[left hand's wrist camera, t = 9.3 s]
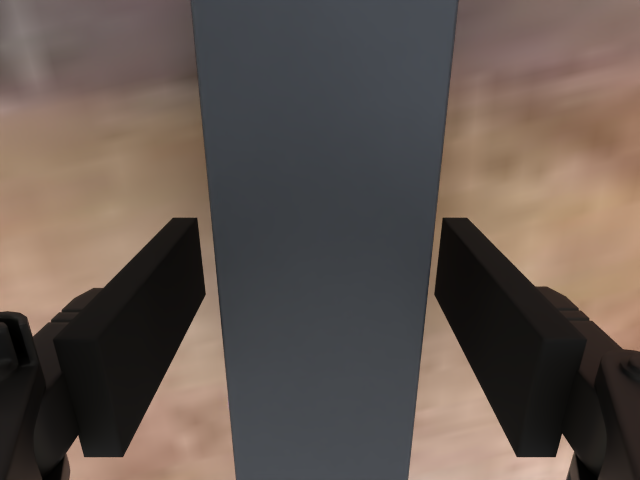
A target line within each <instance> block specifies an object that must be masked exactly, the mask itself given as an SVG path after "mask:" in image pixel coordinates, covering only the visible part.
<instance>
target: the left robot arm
mask: <svg viewBox="0 0 640 480" xmlns="http://www.w3.org/2000/svg"><path fill="white" fill-rule="evenodd" d="M205 295H206V293H205V284H204V275H203V266H202V257H201V248H200V239H199V230H198V221H197V218H172V219H171V220H170V221H169V222H168V223H167V224H166V225H165V226H164V227H163V228H162V229H161V231H160V232H159V233H158V234H157V235H156V236H155V237H154V238H153V239H152V240H151V241H150V242H149V243H148V244H147V245H146V246H145V247H144V248H143V249H142V250H141V251H140V252H139V253H138V254H137V255H136V256H135V257H134V258H133V259H132V260H131V261H130V262H129V263H128V264H127V265H126V266H125V267H124V268H123V269H122V270H121V271H120V272H119V273H118V274H117V275H116V276H115V277H114V278H113V279H112V280H111V281H110V282H109V283H108V284H107V285H106V286H105V287H104V288H93V289H91V290H89V291H87V292H85V293H83V294H81V295H79V296H78V297H76V298H74V299H73V300H72V301H71V302H70V303H69V304H68V305H67V306H66V307H64V308H63V309H62V312H59V313H58V314H57V315H56V316H55V317H54V318H53V319H52V320H51V322H48V323H47V324H46V325H45V326H44V327H43V328H42V329H41V330H40V331H39V332H38V333H37V334H35V335H34V336H32V333H31V330H30V326H29V323H28V319H27V317H26V316H24V315H23V314H21V313H17V312H9V311H7V312H0V480H69V477H70V466H69V461H68V458H67V454H66V452H67V451H68V449H69V448H70V446H71V445H72V443H73V442H74V440H75V439H76V437H77V436H78V435H79V439H80V443H81V447H82V450H83V454H84V457H123V456H124V454H125V452H126V450H127V448H128V446H129V444H130V442H131V440H132V438H133V436H134V434H135V433H136V431H137V429H138V427H139V425H140V423H141V421H142V419H143V417H144V415H145V413H146V411H147V409H148V407H149V405H150V403H151V401H152V399H153V397H154V395H155V393H156V391H157V389H158V387H159V385H160V383H161V381H162V379H163V377H164V375H165V373H166V372H167V370H168V368H169V366H170V364H171V362H172V360H173V358H174V356H175V354H176V352H177V350H178V348H179V346H180V344H181V342H182V340H183V338H184V336H185V334H186V332H187V330H188V328H189V326H190V324H191V322H192V320H193V318H194V316H195V314H196V312H197V311H198V309H199V307H200V305H201V303H202V301H203V299H204V297H205ZM434 295H435V297H436V299H437V301H438V303H439V305H440V307H441V309H442V311H443V312H444V314H445V316H446V318H447V320H448V322H449V324H450V326H451V328H452V330H453V332H454V334H455V336H456V338H457V340H458V342H459V344H460V346H461V348H462V350H463V352H464V354H465V356H466V358H467V360H468V362H469V364H470V366H471V368H472V370H473V372H474V373H475V375H476V377H477V379H478V381H479V383H480V385H481V387H482V389H483V391H484V393H485V395H486V397H487V399H488V401H489V403H490V405H491V407H492V409H493V411H494V413H495V415H496V417H497V419H498V421H499V423H500V425H501V427H502V429H503V431H504V432H505V434H506V436H507V438H508V440H509V442H510V444H511V446H512V448H513V450H514V452H515V454H516V456H517V457H556V454H557V450H558V447H559V443H560V439H561V435H562V434H563V435H564V437H565V438H566V440H567V441H568V443H569V444H570V446H571V447H572V449H573V450H574V454H573V458H572V461H571V464H570V468H569V471H568V475H567V478H566V480H640V352H639V351H634V350H624V349H622V348H621V347H620V346H619V345H618V344H617V343H616V342H614V341H613V340H612V339H611V338H610V337H609V336H608V335H607V334H606V333H605V332H604V331H603V330H601V329H600V328H599V327H598V326H597V325H596V324H595V323H594V322H593V321H589V318H588V317H587V316H586V315H585V314H584V313H583V312H582V311H579V308H578V307H577V306H575V305H574V304H573V303H572V302H571V301H570V300H569V299H568V298H567V297H566V296H564V295H562V294H560V293H558V292H556V291H554V290H552V289H550V288H549V287H535V286H534V285H533V284H532V283H531V282H530V281H529V280H528V279H527V278H526V277H525V276H524V275H523V274H522V273H521V272H520V271H519V270H518V269H517V268H516V267H515V266H514V265H513V264H512V263H511V262H510V261H509V260H508V259H507V258H506V257H505V256H504V255H503V254H502V253H501V252H500V251H499V250H498V249H497V248H496V247H495V246H494V245H493V244H492V243H491V242H490V241H489V240H488V239H487V238H486V237H485V236H484V235H483V234H482V233H481V232H480V230H479V229H478V228H477V227H476V226H475V225H474V224H473V223H472V222H471V221H470V220H469V219H468V218H443V221H442V230H441V239H440V248H439V257H438V266H437V275H436V284H435V293H434Z"/></svg>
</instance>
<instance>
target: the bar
mask: <svg viewBox="0 0 640 480" xmlns="http://www.w3.org/2000/svg"><path fill="white" fill-rule="evenodd" d="M458 1H459V0H191V10H192V21H193V32H194V42H195V53H196V63H197V74H198V84H199V95H200V105H201V116H202V126H203V137H204V147H205V158H206V168H207V179H208V189H209V200H210V211H211V221H212V232H213V242H214V253H215V263H216V274H217V284H218V295H219V305H220V316H221V326H222V337H223V347H224V358H225V368H226V379H227V389H228V400H229V411H230V421H231V432H232V442H233V453H234V463H235V474H236V480H408V475H409V465H410V456H411V446H412V437H413V427H414V418H415V409H416V399H417V390H418V380H419V371H420V361H421V352H422V342H423V333H424V323H425V314H426V304H427V295H428V285H429V276H430V266H431V257H432V247H433V238H434V229H435V219H436V210H437V200H438V191H439V181H440V172H441V162H442V153H443V143H444V134H445V124H446V115H447V105H448V96H449V86H450V77H451V67H452V58H453V49H454V39H455V30H456V20H457V11H458Z"/></svg>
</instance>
